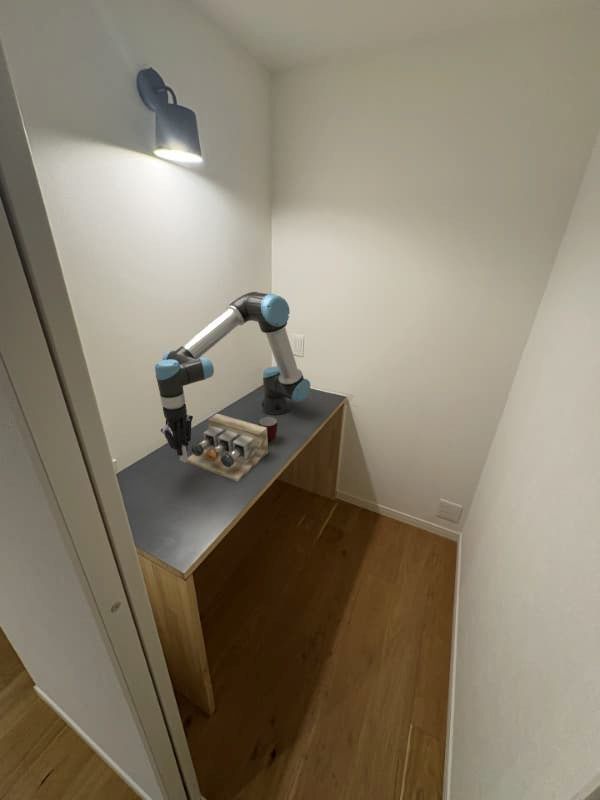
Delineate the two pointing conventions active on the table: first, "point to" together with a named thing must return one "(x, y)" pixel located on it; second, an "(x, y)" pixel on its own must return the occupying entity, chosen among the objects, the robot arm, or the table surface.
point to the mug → (269, 427)
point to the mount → (233, 446)
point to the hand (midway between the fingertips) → (184, 460)
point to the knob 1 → (202, 446)
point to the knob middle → (217, 451)
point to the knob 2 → (232, 456)
